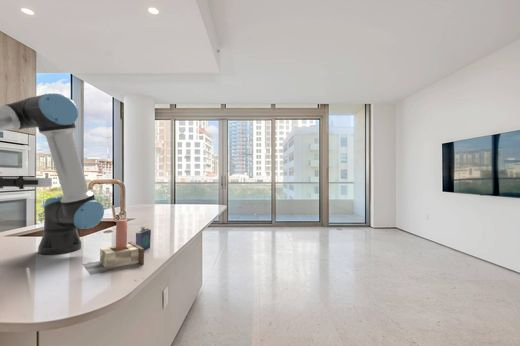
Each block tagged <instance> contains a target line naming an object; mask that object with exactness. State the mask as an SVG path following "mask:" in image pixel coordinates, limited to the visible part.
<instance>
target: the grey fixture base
mask: <svg viewBox="0 0 520 346" xmlns="http://www.w3.org/2000/svg"><path fill="white" fill-rule="evenodd" d="M127 242H128V241H127ZM127 244H131V245H133V246H134V247H136V248H138V249H139V256H138V263H136V264H131V265H126V266H121V267H116V268H110V269H106V268H105V267H104V266H103V265H102V264H101V263H100V260H98V261H93V262H87V263H82V266H83V268H85V270H86V271H87V273H88V274H89V275H90V276H93V275H98V274H103V273H108V272H112V271H118V270H123V269H127V268H133V267H137V266H142V265H145V264H144V263H145V250H144V248H142V247H140V246H138V245H137V244H136V242H133V241H129V242H128V243H127Z"/></svg>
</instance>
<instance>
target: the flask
mask: <svg viewBox="0 0 520 346" xmlns="http://www.w3.org/2000/svg"><path fill="white" fill-rule="evenodd" d="M151 233H152V229H150V228H146V227H145V226H141V227H140V231H137V232H135V244H137V245H138V246H140V247H142V248H144V251H145V250H148V249H151V236H152V234H151Z"/></svg>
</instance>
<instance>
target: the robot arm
mask: <svg viewBox="0 0 520 346" xmlns="http://www.w3.org/2000/svg"><path fill="white" fill-rule="evenodd" d="M78 117H79V109H78V107H77V104H75V102H74V101H73V99H70V98H69V97H68V96H66V95H64V94H61V93H57V92H56V93H45V94H41V95H36V96H31V97H28V98H24V99H22V100H18V101H15V102H12V103H7V104H1V105H0V132H2V131H8V130H12V131H18V130H23V129H32V128H37V129H38V133H40V134H41V135H43V136H45V138H46V141H47V144H48V148H49V152H50V155H51V158H52V161H53V164H54V167H55V171H56V174H57V179H58V182H59V184H60V188H61V191H62V195H63V196H56V197H55V196H54V197H48V198H46V200H45V201H44V205H43V208H44V211H43V213H44V215H43V216H44V218H43V235H42V238H41V240H40V243H39V244H38V246H37V253H38V254H40V255H57V254H63V253H64V254H65V253H71V252H74V251H78V250H80V249H82V240H81V237H80V235H79V232H78V230H79V229H81V230H82V229H83V230H84V229H92V228H94V227H96V226H97V225H99V223H100V222H101V221H102V219H103V218H104V214H105V208H104V205H103V204H102V203H101V202H100V201H99V200H96V197H95V193H94V192H93V191H91V190H89V186H88V184H87V181H86V176H85V173H84V170H83V166H82V162H81V161H82V160H81V158H80V155H79V151H78V147H77V144H76V141H75V136H74V132H75V130H76V129H77V127H76V121H77V119H78ZM52 180H53V178H52V177H24V176H23V175H19V176H18V177H16V178H14V177H3V176H0V188H4V187H6V188H7V187H9V188H10V187H12V188H14V187H15V188H18V190H24V189H25V188H44V187H45V188H46V187H49V188H51V187H52V186H53V181H52Z"/></svg>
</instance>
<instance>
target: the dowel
mask: <svg viewBox="0 0 520 346" xmlns="http://www.w3.org/2000/svg"><path fill="white" fill-rule="evenodd" d="M115 224H116V225H115V227H116V229H115V233H116V234H115V246H116V251H118V250H124V249H127V244H128V243H127V242H128V241H127V240H128V219H117V220H116V222H115Z"/></svg>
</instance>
